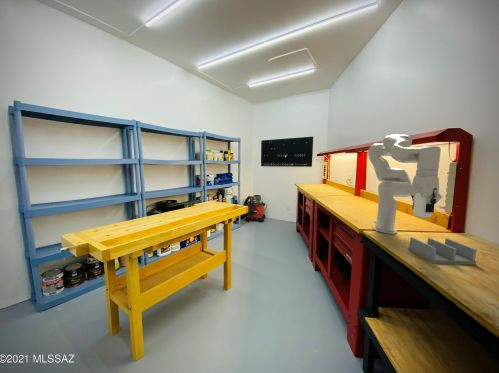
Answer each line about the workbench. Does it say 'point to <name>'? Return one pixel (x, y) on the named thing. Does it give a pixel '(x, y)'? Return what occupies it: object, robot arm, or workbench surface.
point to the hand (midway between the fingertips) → (422, 210)
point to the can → (420, 207)
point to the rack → (443, 251)
